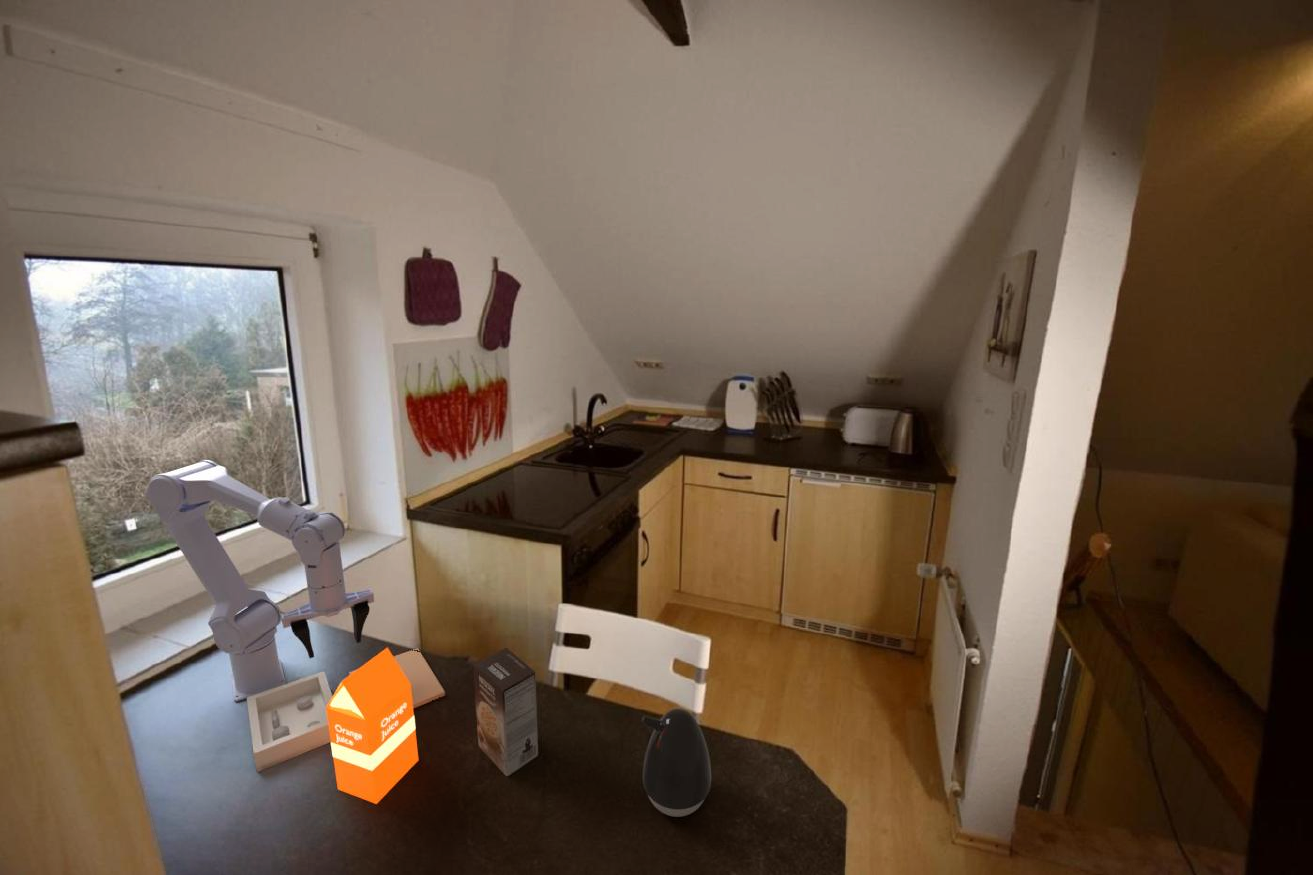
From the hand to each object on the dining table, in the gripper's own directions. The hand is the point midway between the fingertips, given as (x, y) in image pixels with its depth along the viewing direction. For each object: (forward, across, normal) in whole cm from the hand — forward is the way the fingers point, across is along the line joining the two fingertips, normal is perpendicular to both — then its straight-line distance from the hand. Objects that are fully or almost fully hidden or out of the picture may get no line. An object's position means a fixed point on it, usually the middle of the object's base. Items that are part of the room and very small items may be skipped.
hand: (335, 647), depth 104 cm
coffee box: (+10, +19, -33) cm, 39 cm away
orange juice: (+10, +1, -25) cm, 27 cm away
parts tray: (+9, -8, -5) cm, 13 cm away
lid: (+9, +9, -5) cm, 13 cm away
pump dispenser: (+10, +35, -57) cm, 68 cm away
